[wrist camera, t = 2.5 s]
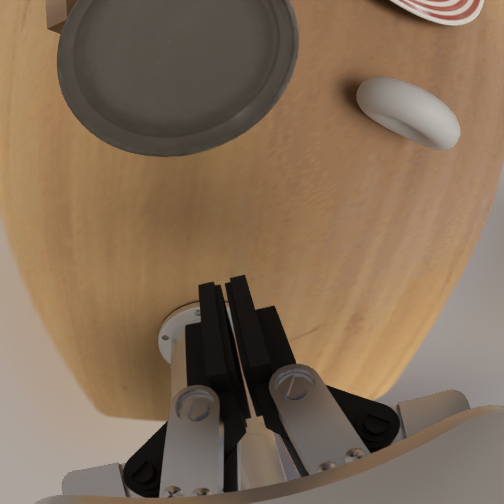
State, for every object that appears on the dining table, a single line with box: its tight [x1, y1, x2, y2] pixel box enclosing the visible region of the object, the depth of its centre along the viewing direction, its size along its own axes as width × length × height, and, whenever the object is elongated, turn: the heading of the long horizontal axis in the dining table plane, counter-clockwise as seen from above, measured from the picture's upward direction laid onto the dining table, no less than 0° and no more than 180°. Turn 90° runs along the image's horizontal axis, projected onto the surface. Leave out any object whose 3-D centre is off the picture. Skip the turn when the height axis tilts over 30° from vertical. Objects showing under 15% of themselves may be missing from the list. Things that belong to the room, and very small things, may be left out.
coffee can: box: [57, 0, 299, 157], centre depth 15 cm, size 10×10×14 cm
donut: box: [356, 77, 460, 150], centre depth 21 cm, size 10×4×10 cm, turn 69°
